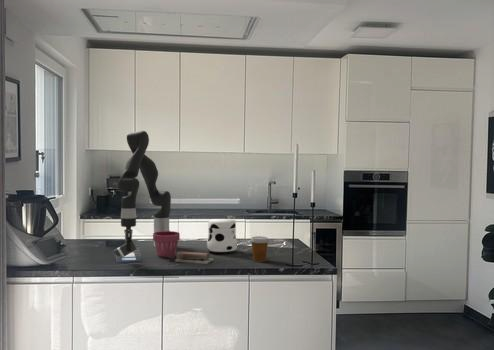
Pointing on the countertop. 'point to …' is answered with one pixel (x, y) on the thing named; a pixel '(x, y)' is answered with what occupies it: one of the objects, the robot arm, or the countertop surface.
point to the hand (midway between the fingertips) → (128, 250)
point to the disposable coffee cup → (259, 248)
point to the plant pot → (166, 243)
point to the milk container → (221, 236)
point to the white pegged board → (130, 257)
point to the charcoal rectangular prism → (124, 250)
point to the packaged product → (193, 257)
